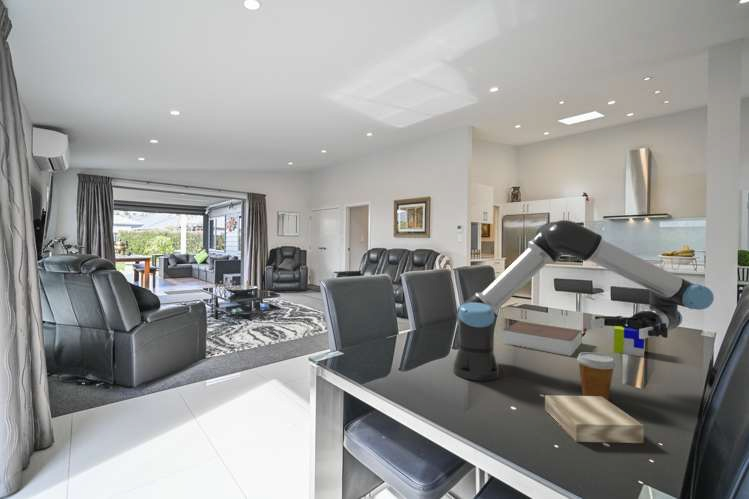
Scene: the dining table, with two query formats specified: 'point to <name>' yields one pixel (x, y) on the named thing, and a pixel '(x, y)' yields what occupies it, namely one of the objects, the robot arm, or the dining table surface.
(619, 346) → the puzzle toy
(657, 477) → the dining table surface
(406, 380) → the dining table surface
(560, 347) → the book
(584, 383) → the disposable coffee cup
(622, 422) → the wooden base block
